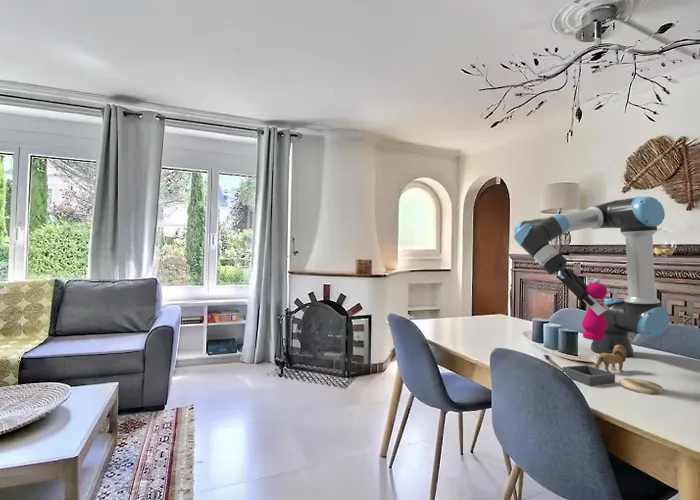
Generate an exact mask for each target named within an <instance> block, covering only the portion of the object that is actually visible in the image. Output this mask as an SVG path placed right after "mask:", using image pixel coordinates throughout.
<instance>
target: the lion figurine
mask: <svg viewBox="0 0 700 500" xmlns="http://www.w3.org/2000/svg"><path fill="white" fill-rule="evenodd" d="M626 359H627V357H626V349H625V348H624V347H623V346H622V345H616V346H614V349H613V353H612V354H607V353H602V354H601V353H599V355H598V358H597V362H596V363H595V365H594V367H595V368H598V369H600V365H601V364H602V363H603V364H604V371H607V372H610V373H613V372H612V371H616V364H618V366H619V367H618V371H619V372H620V373H624V370H622V369H623V365H624V363H625V362H626ZM610 365H611V369H610V370H612V371H610V370H609V367H610Z"/></svg>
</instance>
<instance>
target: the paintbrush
mask: <svg viewBox="0 0 700 500" xmlns="http://www.w3.org/2000/svg"><path fill="white" fill-rule="evenodd" d="M543 356H544V358H545V360H546V361H548V362H549V363H550V364H552V365H553V366H554V367H555V366H556V367H558V368H559V369H561V370H563V367H561V366H560V365H559V364H558V363H556V362H555V361H554V360H552V359H551V358H550V355H547V354H543ZM556 367H555V368H556ZM558 368H557V369H558ZM559 369H558V370H559Z"/></svg>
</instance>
